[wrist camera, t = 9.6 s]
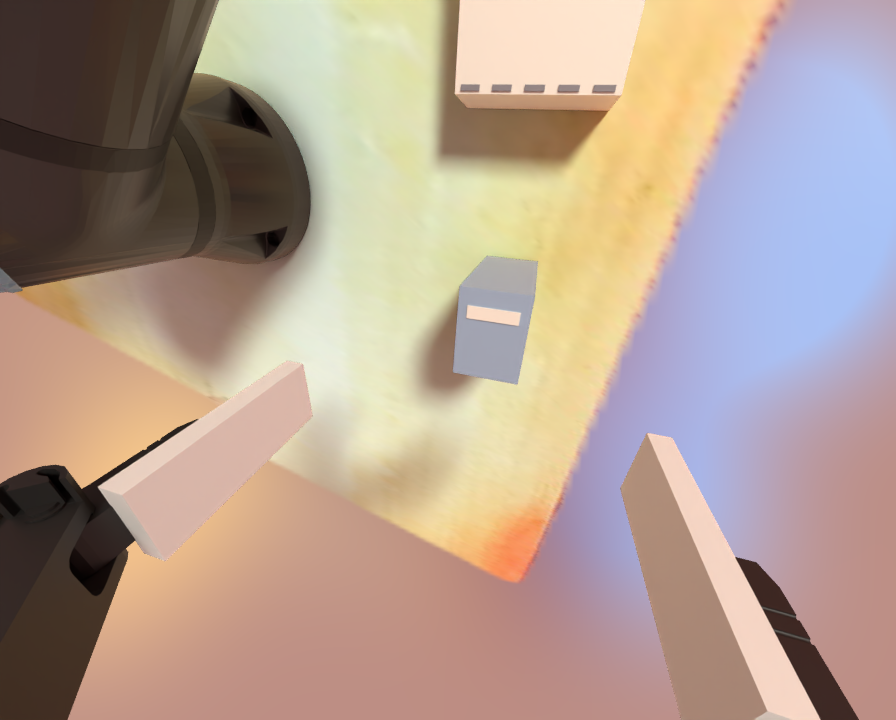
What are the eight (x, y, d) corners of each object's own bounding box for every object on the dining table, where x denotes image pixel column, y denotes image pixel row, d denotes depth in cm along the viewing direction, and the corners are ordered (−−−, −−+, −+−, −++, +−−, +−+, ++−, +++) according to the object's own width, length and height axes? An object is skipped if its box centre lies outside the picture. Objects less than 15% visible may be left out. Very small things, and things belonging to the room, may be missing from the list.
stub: (479, 319, 31) (452, 373, 22) (486, 255, 28) (459, 286, 19) (525, 326, 30) (517, 385, 21) (537, 261, 27) (534, 296, 18)
